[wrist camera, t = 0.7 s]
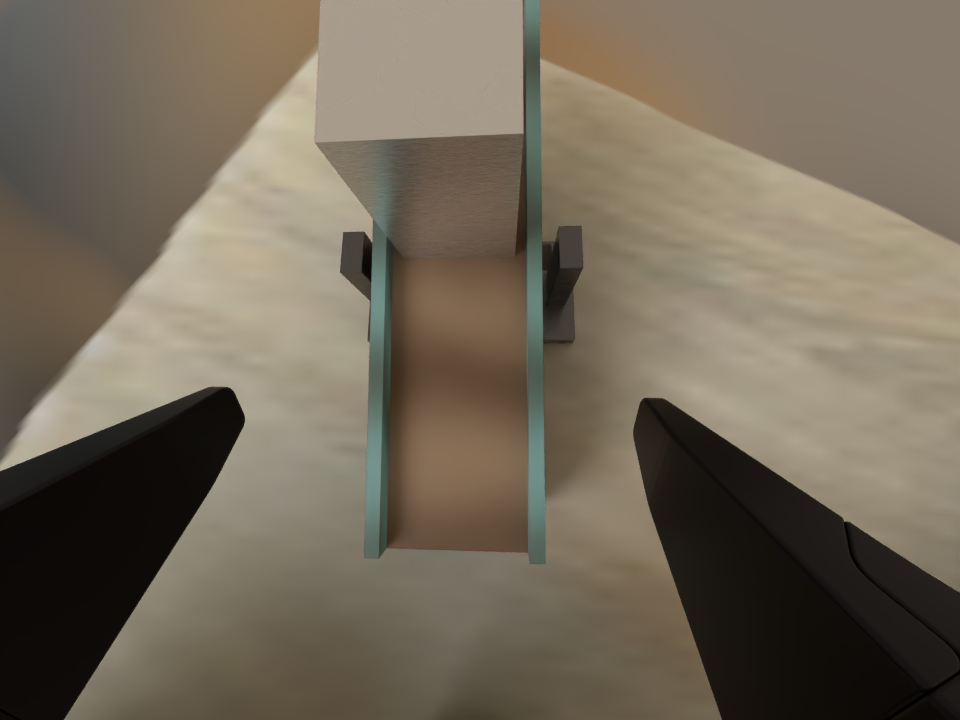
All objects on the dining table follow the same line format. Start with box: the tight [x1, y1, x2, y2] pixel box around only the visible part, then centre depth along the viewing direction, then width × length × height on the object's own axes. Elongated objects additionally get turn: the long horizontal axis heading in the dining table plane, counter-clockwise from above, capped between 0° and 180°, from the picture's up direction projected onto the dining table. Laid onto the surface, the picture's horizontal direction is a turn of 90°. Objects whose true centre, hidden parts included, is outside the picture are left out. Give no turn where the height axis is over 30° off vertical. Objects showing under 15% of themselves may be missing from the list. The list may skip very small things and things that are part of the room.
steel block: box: [315, 0, 523, 259], centre depth 13 cm, size 5×5×8 cm
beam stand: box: [340, 226, 583, 343], centre depth 20 cm, size 6×12×6 cm, turn 89°
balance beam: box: [364, 0, 552, 564], centre depth 18 cm, size 26×8×5 cm, turn 179°
